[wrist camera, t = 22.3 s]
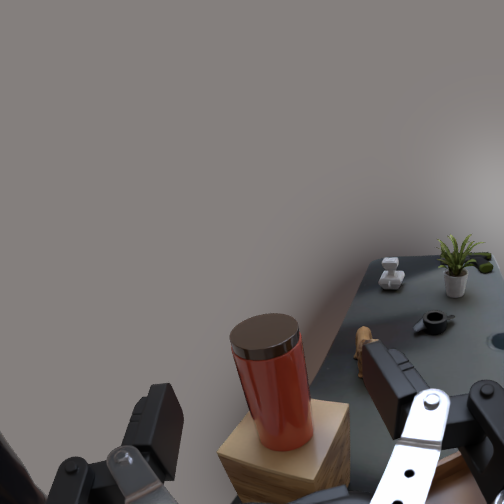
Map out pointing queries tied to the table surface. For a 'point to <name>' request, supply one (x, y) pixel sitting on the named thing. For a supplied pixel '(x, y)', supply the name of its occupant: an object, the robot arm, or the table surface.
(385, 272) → the stamp
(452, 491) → the wooden box
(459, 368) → the table surface
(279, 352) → the spice jar
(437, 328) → the duct tape
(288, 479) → the oak stand
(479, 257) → the gun
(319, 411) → the cork trivet
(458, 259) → the house plant
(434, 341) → the table surface
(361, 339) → the lion figurine
